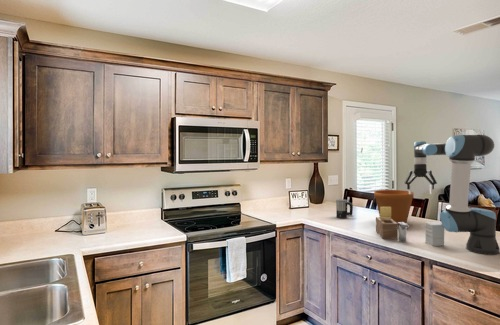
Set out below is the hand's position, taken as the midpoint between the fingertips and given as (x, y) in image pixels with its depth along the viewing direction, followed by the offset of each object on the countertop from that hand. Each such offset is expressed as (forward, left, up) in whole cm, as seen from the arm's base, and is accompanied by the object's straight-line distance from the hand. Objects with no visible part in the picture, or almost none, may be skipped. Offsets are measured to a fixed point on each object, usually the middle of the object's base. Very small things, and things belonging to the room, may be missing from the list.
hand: (420, 194), depth 222 cm
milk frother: (+44, +46, -26) cm, 69 cm away
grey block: (-27, +20, -26) cm, 42 cm away
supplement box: (-32, +3, -26) cm, 42 cm away
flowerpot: (+26, +11, -26) cm, 38 cm away
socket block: (-14, +26, -26) cm, 39 cm away
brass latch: (-12, +26, -15) cm, 32 cm away
